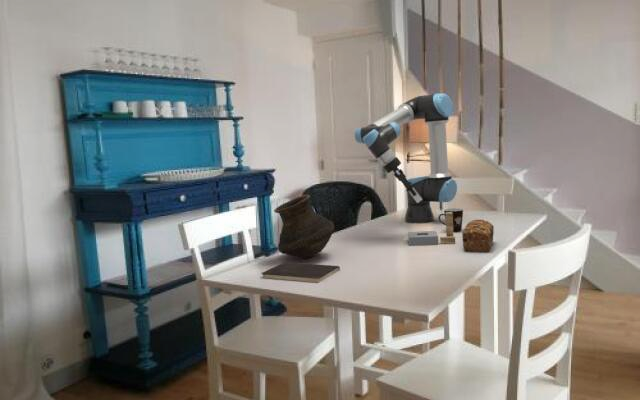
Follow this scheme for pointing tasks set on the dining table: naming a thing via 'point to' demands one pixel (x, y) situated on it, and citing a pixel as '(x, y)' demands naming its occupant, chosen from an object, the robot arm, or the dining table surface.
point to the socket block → (423, 238)
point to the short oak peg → (447, 240)
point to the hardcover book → (301, 272)
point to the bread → (478, 236)
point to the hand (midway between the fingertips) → (418, 199)
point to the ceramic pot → (302, 229)
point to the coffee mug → (454, 218)
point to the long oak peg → (449, 224)
